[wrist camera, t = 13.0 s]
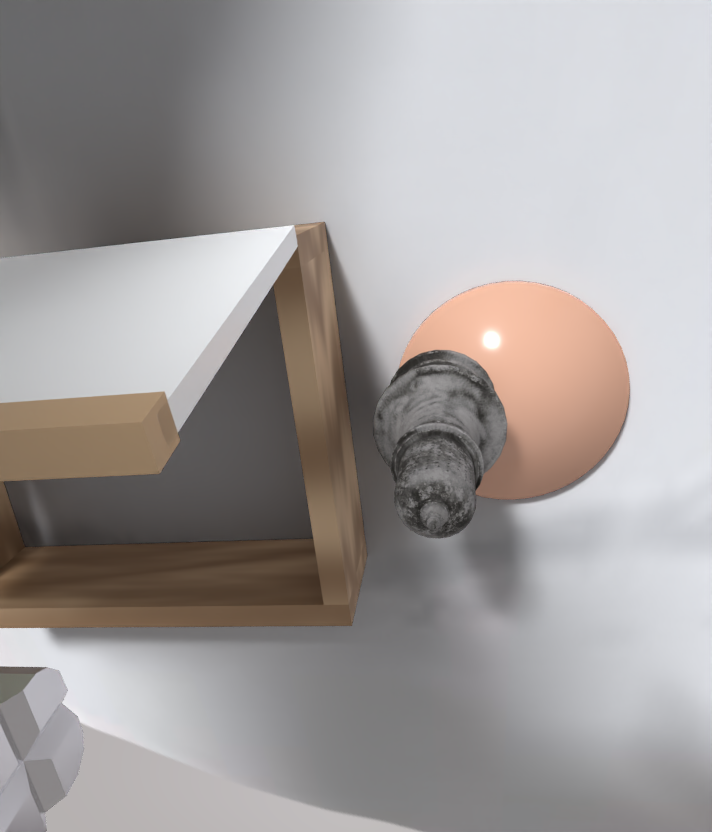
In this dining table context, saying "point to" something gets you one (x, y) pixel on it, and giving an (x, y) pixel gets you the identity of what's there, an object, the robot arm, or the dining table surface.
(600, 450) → the glossy peach disc
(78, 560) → the cold frame
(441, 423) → the dark grey turned piece
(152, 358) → the propped lid
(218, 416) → the dining table surface
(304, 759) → the dining table surface
